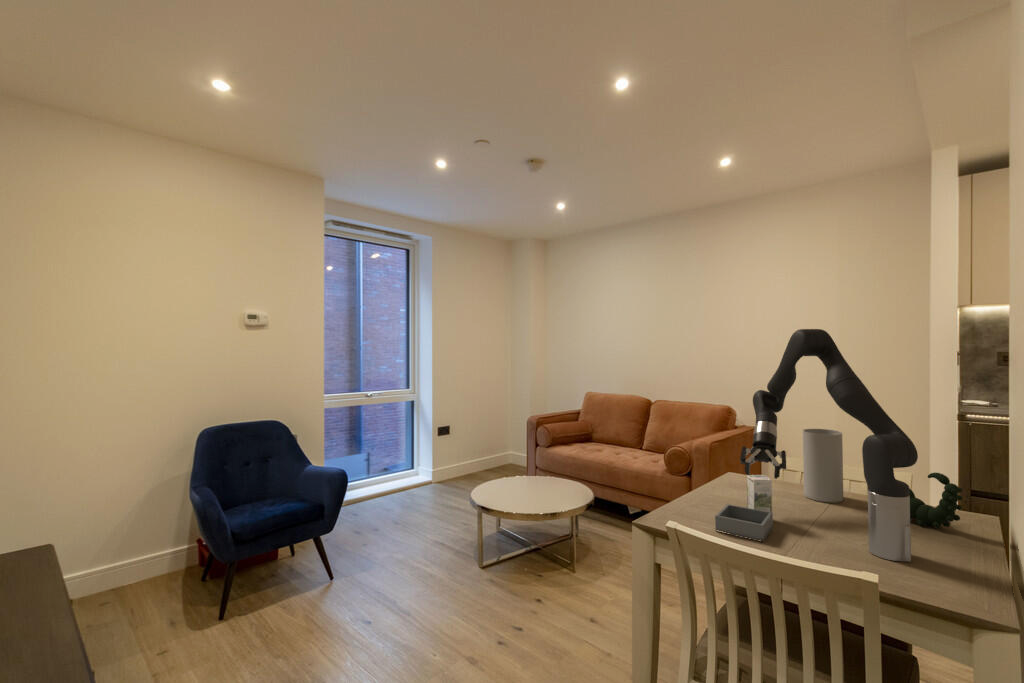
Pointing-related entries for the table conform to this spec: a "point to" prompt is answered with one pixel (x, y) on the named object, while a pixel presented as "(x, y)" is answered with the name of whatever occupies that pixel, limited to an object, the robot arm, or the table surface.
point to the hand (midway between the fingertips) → (761, 475)
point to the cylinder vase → (823, 465)
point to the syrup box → (759, 492)
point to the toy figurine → (943, 511)
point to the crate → (744, 522)
